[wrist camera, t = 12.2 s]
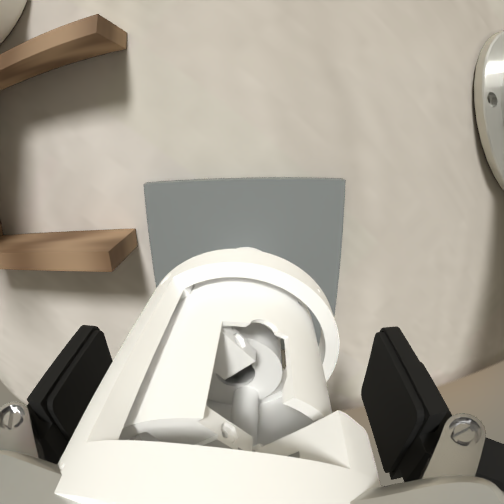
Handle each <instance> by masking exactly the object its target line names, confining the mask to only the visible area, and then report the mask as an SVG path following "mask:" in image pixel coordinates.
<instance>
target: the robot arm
mask: <svg viewBox="0 0 504 504" xmlns="http://www.w3.org/2000/svg"><path fill="white" fill-rule="evenodd" d="M474 103H475V111H476V120H477V125H478V130H479V134H480V139H481V143H482V146H483V149H484V152H485V155H486V159H487V161H488V163H489V166H490V168H491V170H492V172H493V175H494V177H495V178H496V180H497V181H498V183H499V185H500V186H501V188H502V189H503V191H504V30H503V31H501V32H498V33H496V34H494V35H492V36H491V37H490V38H489V39H488V40H487V41H486V43H485V44H484V46H483V48H482V50H481V52H480V55H479V58H478V61H477V65H476V72H475V80H474ZM112 362H113V361H112V358H111V355H110V352H109V349H108V346H107V343H106V339H105V336H104V333H103V332H102V331H100V329H99V328H98V327H97V326H88V325H82V326H81V327H80V328H79V330H78V331H77V332H76V333H75V335H74V336H73V337H72V338H71V340H70V341H69V342H68V344H67V345H66V346H65V348H64V349H63V350H62V351H61V353H60V354H59V355H58V357H57V358H56V359H55V361H54V362H53V363H52V365H51V366H50V367H49V369H48V370H47V372H46V373H45V374H44V376H43V377H42V378H41V380H40V381H39V383H38V384H37V385H36V387H35V388H34V390H33V391H32V393H31V394H30V395H29V397H28V398H27V401H28V402H29V404H28V405H27V407H26V406H25V405H24V404H23V403H20V402H9V403H7V404H5V405H3V406H2V407H1V408H0V504H81V503H78V502H75V501H72V500H70V499H67V498H65V497H62V496H60V495H57V494H55V493H54V492H55V490H56V487H57V485H58V483H59V481H60V478H61V476H62V474H61V470H62V469H60V468H59V465H57V464H58V462H59V460H60V458H61V456H62V454H63V453H64V451H65V449H66V447H67V445H68V443H69V441H70V439H71V437H72V435H73V433H74V431H75V429H76V428H77V426H78V424H79V422H80V420H81V418H82V416H83V414H84V412H85V410H86V409H87V407H88V405H89V403H90V401H91V399H92V397H93V396H94V394H95V392H96V390H97V388H98V387H99V385H100V383H101V381H102V379H103V378H104V376H105V374H106V372H107V370H108V369H109V367H110V365H111V363H112ZM361 396H362V400H363V403H364V406H365V409H366V412H367V416H368V418H369V422H370V425H371V428H372V431H373V435H374V438H375V441H376V445H377V448H378V452H379V455H380V458H381V462H382V465H383V469H384V471H385V472H386V473H388V472H389V473H390V477H391V479H397V478H401V477H403V479H404V483H398V484H394V485H389V486H384V487H378V488H373V489H368V490H367V491H365V492H364V493H362V494H361V495H359V496H358V497H356V498H355V499H354V500H352V501H351V502H350V504H504V444H502V443H499V442H496V441H494V440H491V439H488V438H486V431H485V427H484V425H483V424H482V422H481V421H480V420H479V419H477V418H476V417H474V416H472V415H470V414H465V413H462V414H456V415H453V416H452V415H451V412H450V411H449V409H448V407H447V405H446V403H445V401H444V400H443V398H442V396H441V394H440V393H439V391H438V389H437V387H436V385H435V384H434V382H433V380H432V378H431V377H430V375H429V373H428V371H427V370H426V368H425V366H424V365H423V364H422V362H420V361H419V360H418V358H417V356H416V355H415V353H414V351H413V350H412V348H411V346H410V345H409V343H408V341H407V340H406V338H405V336H404V335H403V333H402V332H401V330H400V328H399V327H387V328H382V329H381V330H380V332H378V333H376V334H375V338H374V342H373V346H372V351H371V355H370V359H369V363H368V367H367V371H366V375H365V378H364V382H363V386H362V390H361Z"/></svg>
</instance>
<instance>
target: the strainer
mask: <svg viewBox="0 0 504 504" xmlns="http://www.w3.org/2000/svg"><path fill="white" fill-rule="evenodd" d="M305 304H306V305H307V306H308V307H309V308H310V310H311V311H312V312H313V313H314V315H315V316H316V318H317V319H318V321H319V323H320V325H321V338H320V343H319V346H318V343H317V339H316V334H315V330H314V325H313V321H312V317H311V315H310V312H309V310H308V308H307V306H306V305H305ZM281 338H282V339H284V344H285V356H286V368H285V369H284V370H282V357H281V342H280V339H281ZM339 345H340V342H339V333H338V328H337V325H336V322H335V319H334V316H333V313H332V310H331V307H330V304H329V302H328V300H327V298H326V296H325V294H324V293H323V291H322V290H321V288H320V287H319V285H318V284H317V283H316V282H315V281H314V280H313V279H312V278H311V277H310V276H309V275H308V274H307V273H306V272H304V271H303V270H302V269H300V268H299V267H297V266H296V265H294V264H293V263H291V262H289V261H287V260H285V259H283V258H280V257H278V256H275V255H272V254H269V253H266V252H262V251H261V250H258V249H256V248H252V247H240V248H236V249H222V250H215V251H210V252H207V253H203V254H200V255H197V256H195V257H192V258H190V259H188V260H186V261H185V262H183V263H181V264H180V265H178V266H177V267H175V268H174V269H173V270H172V271H170V272H169V273H168V274H167V275H166V276H165V277H164V279H163V280H162V281H161V282H160V284H159V285H158V287H157V288H156V290H155V291H154V293H153V295H152V296H151V298H150V299H149V301H148V303H147V304H146V306H145V308H144V310H143V311H142V313H141V314H140V316H139V318H138V319H137V321H136V323H135V324H134V326H133V328H132V329H131V331H130V333H129V334H128V336H127V338H126V339H125V341H124V343H123V345H122V346H121V348H120V350H119V351H118V353H117V355H116V357H115V358H114V360H113V362H112V363H111V365H110V367H109V369H108V370H107V372H106V374H105V376H104V378H103V379H102V381H101V383H100V385H99V387H98V388H97V390H96V392H95V394H94V396H93V397H92V399H91V401H90V403H89V405H88V407H87V409H86V410H85V412H84V414H83V416H82V418H81V420H80V422H79V424H78V426H77V428H76V429H75V431H74V433H73V435H72V437H71V439H70V441H69V443H68V445H67V447H66V449H65V451H64V453H63V454H62V456H61V458H60V460H59V462H58V464H57V465H59V468H60V469H62V470H61V474H62V476H61V478H60V481H59V483H58V485H57V487H56V490H55V492H54V493H55V494H57V495H60V496H62V497H65V498H67V499H70V500H72V501H75V502H78V503H81V504H350V502H351V501H352V500H354V499H355V498H356V497H358V496H359V495H361V494H362V493H364V492H365V491H367V490H368V489H373V488H378V487H382V485H381V484H380V480H379V476H378V472H377V468H376V464H375V460H374V457H373V453H372V449H371V445H370V441H369V438H368V434H367V432H366V430H365V429H364V428H363V427H362V426H361V425H360V424H358V423H357V422H356V421H355V420H353V419H352V418H351V417H350V416H349V415H347V414H346V413H344V412H342V411H339V410H337V411H335V412H333V413H332V409H331V404H330V399H329V394H328V389H327V384H326V382H327V380H328V379H329V377H330V376H331V374H332V372H333V370H334V368H335V365H336V363H337V359H338V355H339Z"/></svg>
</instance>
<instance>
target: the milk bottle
mask: <svg viewBox="0 0 504 504" xmlns="http://www.w3.org/2000/svg"><path fill="white" fill-rule="evenodd" d="M26 2H27V0H0V44H1V43H2V42H3V41H4V39H5V38H6V37H7V36H8V34H9V33H10V32H11V30H12V29H13V27H14V26H15V24H16V23H17V21H18V19H19V17H20V16H21V14H22V11H23V9H24V7H25V5H26Z"/></svg>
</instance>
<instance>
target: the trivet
mask: <svg viewBox="0 0 504 504" xmlns="http://www.w3.org/2000/svg"><path fill="white" fill-rule="evenodd" d="M144 194H145V204H146V214H147V223H148V232H149V240H150V248H151V255H152V262H153V269H154V276H155V282H156V288H157V287H158V285H159V284H160V282H161V281H162V280H163V279H164V277H165V276H166V275H167V274H168V273H169V272H170V271H172V270H173V269H174V268H175V267H177V266H178V265H180V264H181V263H183V262H185V261H186V260H188V259H190V258H192V257H195V256H197V255H200V254H203V253H207V252H210V251H215V250H222V249H236V248H240V247H252V248H256V249H258V250H261V251H262V252H266V253H269V254H272V255H275V256H278V257H280V258H283V259H285V260H287V261H289V262H291V263H293V264H294V265H296V266H297V267H299V268H300V269H302V270H303V271H304V272H306V273H307V274H308V275H309V276H310V277H311V278H312V279H313V280H314V281H315V282H316V283H317V284H318V285H319V287H320V288H321V290H322V291H323V293H324V294H325V296H326V298H327V300H328V302H329V304H330V307H331V310H332V313H333V316H334V314H335V306H336V298H337V289H338V279H339V269H340V258H341V246H342V233H343V218H344V200H345V180H344V179H342V178H293V177H269V178H219V179H194V180H175V181H159V182H147V183H145V184H144ZM305 305H306V304H305ZM306 306H307V305H306ZM307 308H308V310H309V312H310V315H311V317H312V321H313V325H314V330H315V334H316V339H317V343H318V346H319V343H320V338H321V325H320V323H319V321H318V319H317V318H316V316H315V315H314V313H313V312H312V311H311V310H310V308H309V307H308V306H307ZM280 342H281V350H285V344H284V339H282V338H281V339H280Z"/></svg>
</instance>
